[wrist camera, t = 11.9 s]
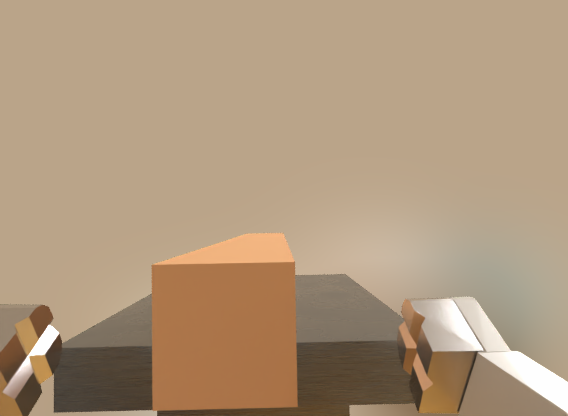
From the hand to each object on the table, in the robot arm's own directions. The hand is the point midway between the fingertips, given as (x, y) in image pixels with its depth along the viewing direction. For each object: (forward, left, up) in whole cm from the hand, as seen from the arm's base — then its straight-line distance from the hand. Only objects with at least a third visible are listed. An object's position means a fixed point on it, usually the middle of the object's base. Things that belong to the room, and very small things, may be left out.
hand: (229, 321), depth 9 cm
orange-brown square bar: (-7, -8, -2) cm, 11 cm away
